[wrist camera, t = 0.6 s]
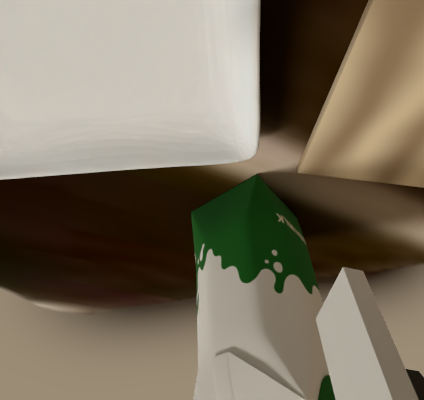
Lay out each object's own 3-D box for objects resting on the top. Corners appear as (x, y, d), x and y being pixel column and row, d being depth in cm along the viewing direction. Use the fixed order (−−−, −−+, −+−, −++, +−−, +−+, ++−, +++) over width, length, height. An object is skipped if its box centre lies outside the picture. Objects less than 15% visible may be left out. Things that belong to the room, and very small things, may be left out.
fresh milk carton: (310, 218, 37) (388, 472, 23) (231, 256, 41) (255, 497, 26) (260, 160, 32) (320, 441, 18) (175, 211, 36) (167, 478, 21)
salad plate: (-16, 157, 31) (-34, 187, 29) (-258, -253, 16) (-337, -264, 14) (254, 136, 31) (260, 164, 28) (261, -299, 16) (275, -320, 13)
